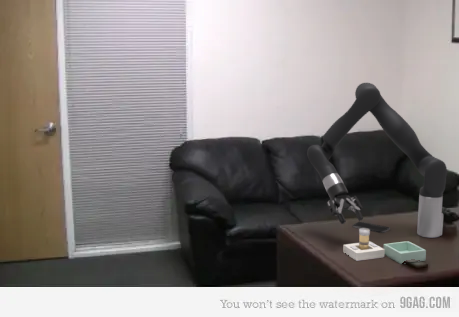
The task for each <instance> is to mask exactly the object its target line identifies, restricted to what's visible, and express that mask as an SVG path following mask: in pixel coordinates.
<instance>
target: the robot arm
mask: <svg viewBox="0 0 459 317" xmlns="http://www.w3.org/2000/svg"><path fill="white" fill-rule="evenodd" d="M354 93H355V95H354V96H355V101H354V102H353V103H352V104H351V106H350V107H349V108H348V109H347V111H346V112H345V113H344V114H343V115H342V116H340V117H339V118H337V120H336V121H335V122H333V123H332V125H331V126H330V127H329V128H328V129H327V130H326V132H325V133H324V134H323V136H322V140H323V143H322V145H321V146H320V145H319V144H312V145H310V146H309V147H308V148H307V152H306V156H307V158H308V161H309V162H310V164H311V165H312V167H313V168H314V169H315V170H316V172H317V173H318V176H319V177H320V180H321V182H322V183H323V187H324V188H325V191H326V193H327V194H328V197H329V200H328V201H327V202H326V205H327V209H328V210H329V213H330V215H331V216H335V217H337V219H338V221H339V222H340V224H341V225H344V224H346V221H347V220H346V219H345V216H344V214H343V213H342V211H344V210H349V211H352V212H354V213H355V214H354V215H355V216H356V219H357V220H358V222H362V221H363V219H364V216H363V214H362V213H361V210H362V209H363V208H364V207H363V205H362V204H361V202H360V199H359V198H358V197H357V195H354V196H352V197H351V196H350V195H349V190H348V189H347V187H346V185H345V183H344V181H343V179H342V178H341V176H340V175H339V173H338V171H337V169H336V167H335V166H334V164H332V163H331V162H330V161H329V160H330V159H331V157H332V156H333V155H334V153H335V151H336V149H337V146H338V145H339V144H340V143H341V142H342V140H343V139H344V138H345V136H346V135H347V134H348V133H349V132H350V131H351V130H352V128H354V126H355V125H357V123H358V122H359V121H360V120H361V119H363V117H364V116H365V115H367V113H369V112H370V114H371V115H372V116H373V117H374V118H375V120H376V121H377V123H378V124H379V126H380V127H381V129H382V130H383V131H384V132H385V135H386V136H387V137H388V138H389V139H390V140H391V141H392V142H393V144H394V145H396V146H397V148H399V150H401V151H402V152H403V153H404V154H405V155H406V156H407V157H408V159H410V161H411V162H412V164H413V165H414V166H415V168H416V170H417V171H418V173H419V174H420V175H421V176H422V177H423V185H422V186H421V187H420V189H419V195H418V196H419V197H418V211H417V212H418V213H417V215H418V216H417V229H416V230H417V231H416V234H417V235H418V236H420V237H423V238H433V239H434V238H440V236H443V229H444V228H443V227H444V226H443V225H444V213H443V197H444V196H443V195H444V192H445V189H446V186H447V185H446V184H447V175H448V174H447V173H448V172H447V170H448V169H447V165H446V163H445V162H444V161H443V160H441V159H440V158H438V157H435V156H433V155H432V154H431V153H430V152H428V150H426V148H425V147H424V146H423V144H422V143H421V142H420V140H419V138H418V135H417V133H416V132H415V130H414V129H413V128H412V127H411V125H410V124H409V123H408V121H406V120H405V119H404V118H403V116H402V115H400V114H399V113H398V112H397V111H396V110H394V109H393V107H391V106H390V104H388V103H387V101H386V100H385V99H384V97H383V96H382V95H381V91H380V90H379V88H377V86H376V85H374V84H373V83H370V82H362V83H359V84H358V85H357V87H356V88H355V92H354Z"/></svg>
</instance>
